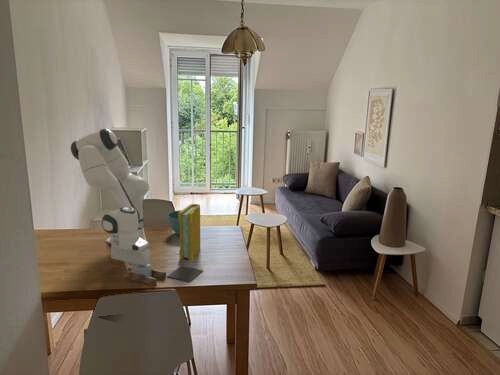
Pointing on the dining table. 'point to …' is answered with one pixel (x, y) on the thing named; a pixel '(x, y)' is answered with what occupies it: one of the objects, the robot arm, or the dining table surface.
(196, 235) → the book
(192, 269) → the mat
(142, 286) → the dining table surface
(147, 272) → the blank
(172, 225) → the plant pot
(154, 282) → the shelf slot
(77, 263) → the dining table surface
